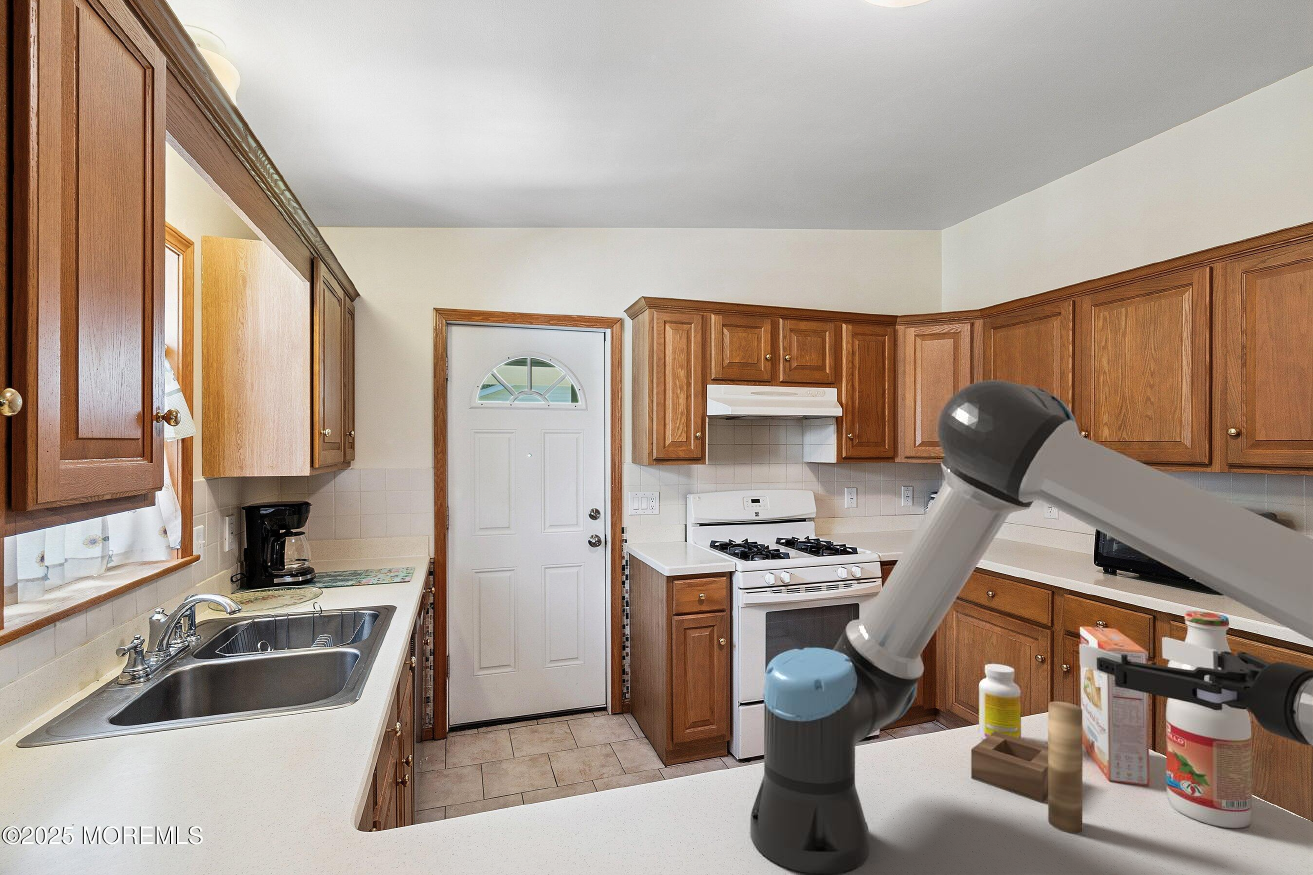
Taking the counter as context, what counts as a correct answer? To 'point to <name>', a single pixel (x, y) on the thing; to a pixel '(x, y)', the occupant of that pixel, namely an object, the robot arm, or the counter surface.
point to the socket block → (1012, 765)
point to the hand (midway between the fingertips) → (1123, 650)
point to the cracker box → (1115, 713)
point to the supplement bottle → (999, 702)
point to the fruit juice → (1208, 744)
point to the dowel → (1065, 766)
